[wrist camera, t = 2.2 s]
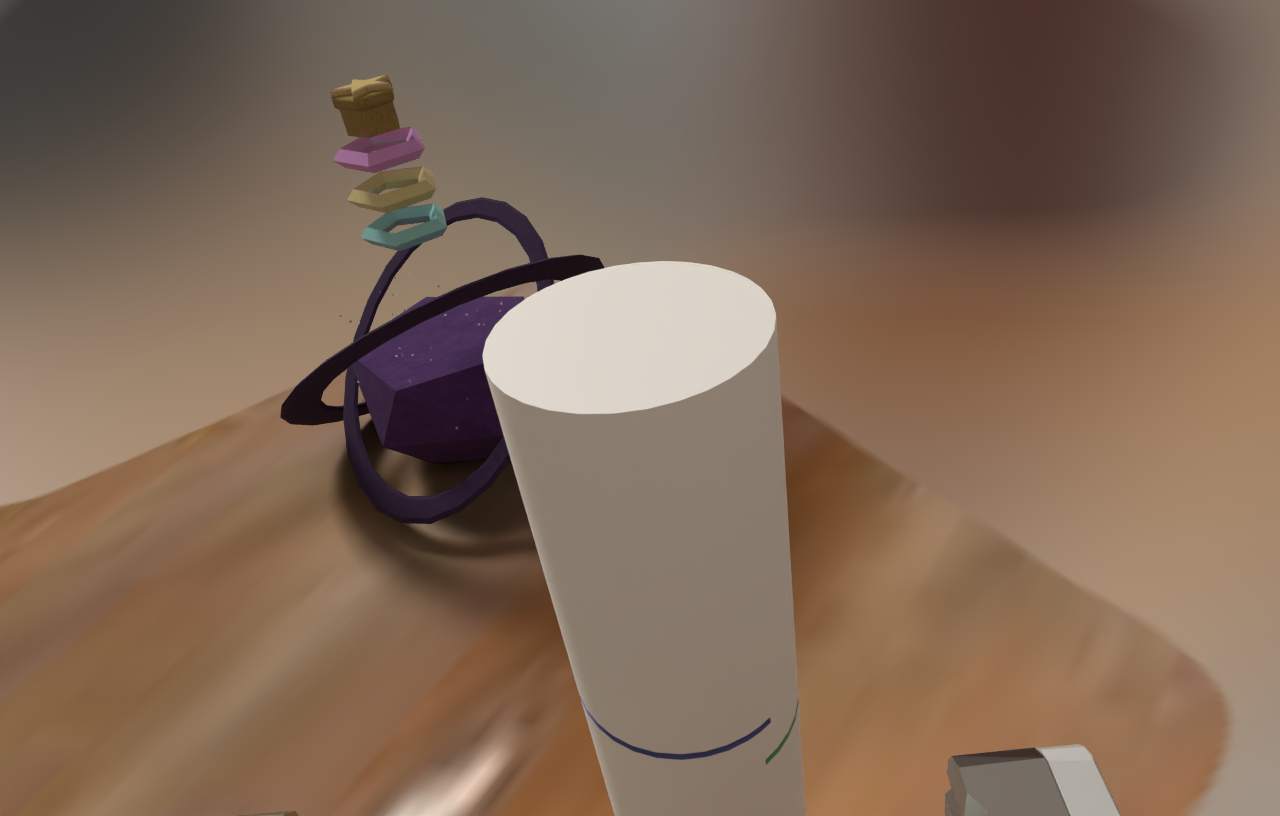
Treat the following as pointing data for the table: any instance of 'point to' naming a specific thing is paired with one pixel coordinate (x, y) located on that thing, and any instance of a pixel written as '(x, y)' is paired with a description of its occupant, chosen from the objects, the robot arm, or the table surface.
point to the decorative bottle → (420, 323)
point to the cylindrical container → (662, 526)
